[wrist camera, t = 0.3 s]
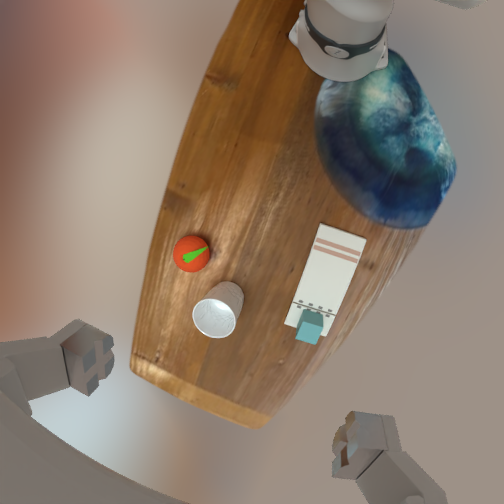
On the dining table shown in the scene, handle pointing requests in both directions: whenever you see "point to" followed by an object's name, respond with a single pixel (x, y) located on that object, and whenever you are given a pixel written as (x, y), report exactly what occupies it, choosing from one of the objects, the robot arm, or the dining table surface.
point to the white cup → (219, 310)
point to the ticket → (329, 268)
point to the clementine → (191, 253)
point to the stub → (309, 322)
